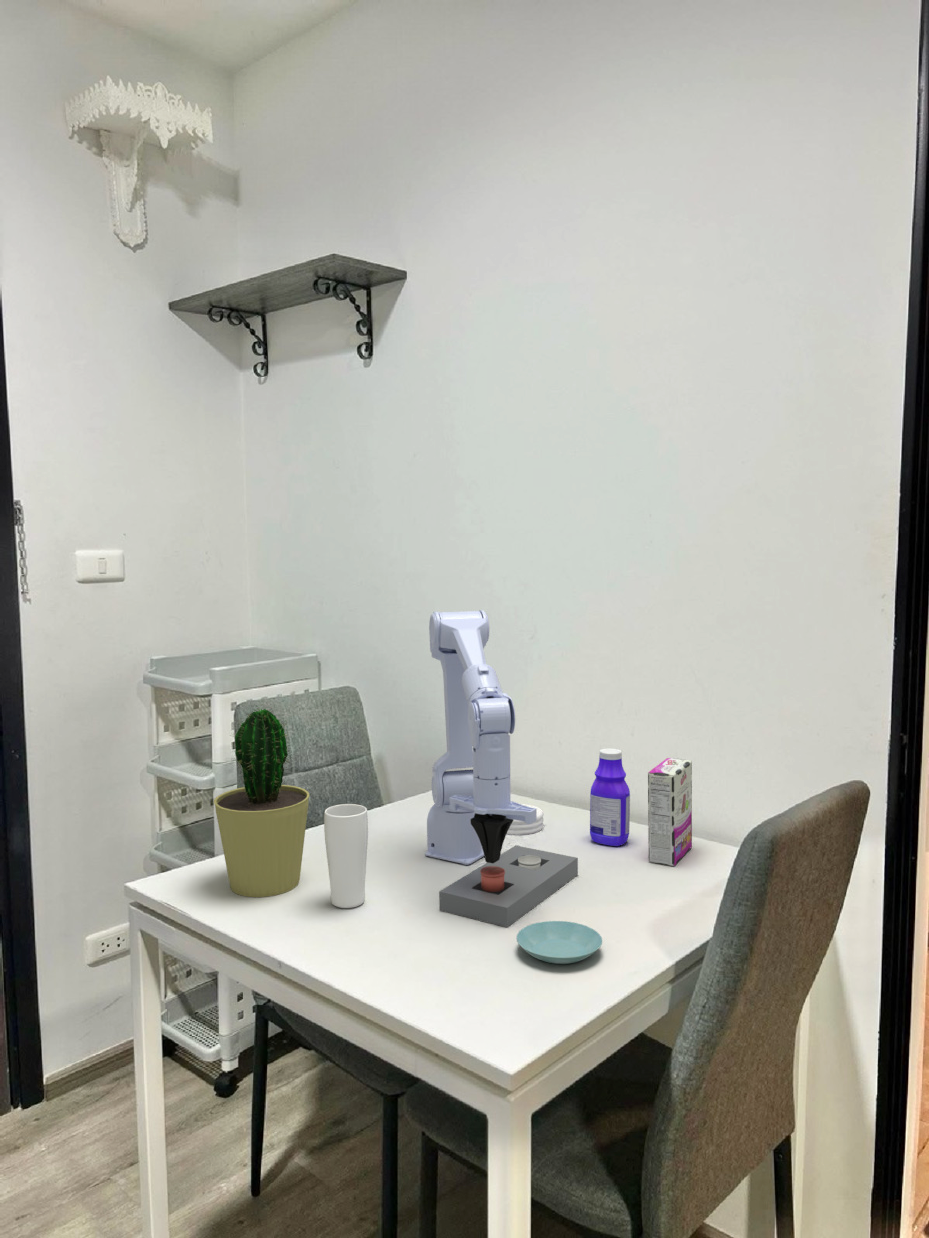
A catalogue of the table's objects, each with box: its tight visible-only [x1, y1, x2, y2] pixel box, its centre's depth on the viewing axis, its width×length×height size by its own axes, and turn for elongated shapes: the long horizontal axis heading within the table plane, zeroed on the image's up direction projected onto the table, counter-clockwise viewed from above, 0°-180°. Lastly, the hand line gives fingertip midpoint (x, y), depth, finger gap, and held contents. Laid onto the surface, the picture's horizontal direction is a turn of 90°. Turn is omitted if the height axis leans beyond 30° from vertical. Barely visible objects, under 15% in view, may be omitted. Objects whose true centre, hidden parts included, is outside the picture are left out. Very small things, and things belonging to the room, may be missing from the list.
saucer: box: [516, 920, 603, 965], centre depth 127 cm, size 12×12×2 cm
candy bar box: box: [647, 757, 693, 867], centre depth 164 cm, size 11×5×16 cm, turn 150°
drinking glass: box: [323, 803, 369, 909], centre depth 144 cm, size 7×7×15 cm
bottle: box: [589, 747, 631, 847], centre depth 171 cm, size 7×6×17 cm
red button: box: [480, 866, 505, 892], centre depth 143 cm, size 4×4×3 cm
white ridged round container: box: [506, 803, 544, 836], centre depth 181 cm, size 10×10×4 cm
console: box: [438, 845, 579, 928], centre depth 148 cm, size 24×12×3 cm, turn 148°
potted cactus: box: [213, 707, 310, 898], centre depth 152 cm, size 15×15×30 cm
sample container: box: [518, 855, 541, 870], centre depth 153 cm, size 4×4×3 cm
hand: (492, 860), depth 143 cm, fingers closed
